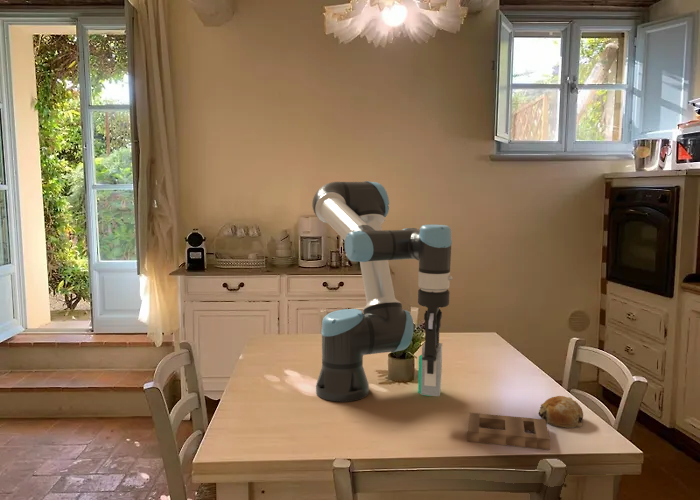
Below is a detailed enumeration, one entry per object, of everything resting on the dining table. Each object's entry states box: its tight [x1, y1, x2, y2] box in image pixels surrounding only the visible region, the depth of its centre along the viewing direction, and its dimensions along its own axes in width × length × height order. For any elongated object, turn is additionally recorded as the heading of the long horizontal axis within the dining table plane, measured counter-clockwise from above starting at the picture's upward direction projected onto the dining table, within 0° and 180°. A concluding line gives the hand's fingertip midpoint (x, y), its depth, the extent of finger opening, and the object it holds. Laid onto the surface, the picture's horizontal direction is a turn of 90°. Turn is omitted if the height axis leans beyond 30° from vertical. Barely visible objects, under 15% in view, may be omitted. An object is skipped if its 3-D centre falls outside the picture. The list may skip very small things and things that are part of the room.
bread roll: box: [537, 395, 584, 429], centre depth 142 cm, size 10×10×8 cm
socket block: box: [467, 412, 551, 451], centre depth 134 cm, size 18×11×2 cm, turn 76°
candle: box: [417, 354, 431, 397], centre depth 161 cm, size 6×6×12 cm
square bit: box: [420, 341, 443, 397], centre depth 139 cm, size 4×4×12 cm
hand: (431, 381), depth 139 cm, fingers closed on square bit, 4 cm apart
